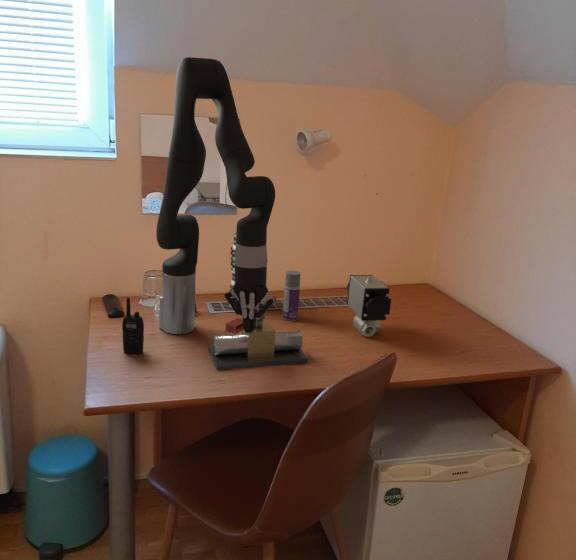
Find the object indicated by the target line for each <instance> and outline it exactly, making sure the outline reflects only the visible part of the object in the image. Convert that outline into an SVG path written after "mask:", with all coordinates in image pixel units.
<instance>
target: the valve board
mask: <svg viewBox="0 0 576 560" xmlns="http://www.w3.org/2000/svg"><path fill="white" fill-rule="evenodd" d="M212 337H213V338H212V344H208V346H207V347H208V348H207V351H208V353H209V356H210V358H211V360H212V362H213V365H214V367H215V370H216V371H219V370H220V371H221V370H222V371H223V370H233V369H235V370H236V369H246V368H247V369H248V368H259V367H260V368H261V367H263V368H264V367H272V366H273V367H274V366H275V367H276V366H290V365H301V364H303V365H304V364H308V361H309V358H308V356H307V355H306V354H305V353H304V351H303V350H302V348H303V336H302V332H301V331H300V330H294V331H293V330H291V331H289V330H288V331H276V329H274V327H273V326H272V325H271V323H270V321H267V320H266V321H264V319H263V320H257V321H256V329H255V330H254V331H253V332H252V333H245V330H243V331H241V333H237V334H218V335H213V336H212Z"/></svg>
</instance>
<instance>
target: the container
mask: <svg viewBox="0 0 576 560" xmlns="http://www.w3.org/2000/svg"><path fill="white" fill-rule="evenodd" d="M284 279H285V281H284V291H283V306H282V320H285V321H287V322H296V321H297V320H298V316H299V305H300V303H299V302H300V292H301V291H300V290H301V272H300V271H297V270H287V271H285V278H284Z"/></svg>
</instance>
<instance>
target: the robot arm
mask: <svg viewBox="0 0 576 560" xmlns="http://www.w3.org/2000/svg"><path fill="white" fill-rule="evenodd" d="M177 66H178V67H177V70H176V77H175V88H174V89H175V91H174V92H175V93H174V108H173V109H174V114H173V124H172V132H171V139H170V145H169V151H168V158H167V159H168V160H167V167H166V176H165V183H164V190H163V191H164V192H163V197H162V201H161V205H160V210H159V214H158V217H157V218H158V219H157V222H156V223H157V224H156V230H155V231H156V241H157V245H158V246H159V247H160V248H161V249H163V250H167V251H169V250H179V251H177V252H176V253H175V254H174V255H173V256H170V257H169V258H167V259H165V260H164V261H163V263H162V271H161V272H162V280H161V281H162V282H161V283H162V285H161V286H162V289H161V290H162V293H161V296H160V297H159V298H158V300H159V302H158V305H159V306H158V307H159V311H158V312H159V313H158V315H159V316H158V320H159V322H158V323H159V324H158V325H159V327H158V328H159V329H160V330H162V331H163V332H165V333H166V334H171V335H186V334H189V333H191V332H193V331H194V330H195V325H196V324H195V323H196V322H195V320H196V318H195V317H196V280H197V278H196V274H197V265H198V254H199V244H200V243H199V242H200V226H199V223H198V219H197V218H196V217H195V216H194V215H193V214H179V212H180V209H181V207H182V205H183V204H184V201H185V200H186V199H187V197H188V196H189V195H190V194H191V193H192V192H193V191H194V189H195V188H196V187H197V185H198V184H199V183H200V181H201V179H202V178H203V174H204V170H205V169H204V168H205V164H206V163H205V162H206V157H207V151H206V145H205V142H204V139H203V138H202V135H201V133H200V131H199V129H198V126H197V123H196V119H195V109H196V103H197V100H201V99H202V100H212V102H213V103H214V104H215V107H216V109H217V114H218V115H217V117H218V118H217V122H216V127H215V132H214V133H215V135H214V138H215V139H214V141H215V146H216V149H217V151H218V154H219V156H220V158H221V162H222V163H223V166H224V167H225V175H226V182H227V191H228V196H229V199H230V201H231V203H232V204H233V205H234V206H235V207H237V208H239V209H242V210H245V209H250V211H249V213H248V214H247V215H246V216H244V217H242V218H240V219H239V220H237V222H236V231H235V233H236V250H235V284H234V286H233V290H231V291H230V290H229V291H227V292H225V293H224V294H223V295H224V298H225V299H226V301H227V303H228V304H229V306H230V305H231V307H232V308H231V307H230V308H231V309H233V311H234V313H235V314H236V315H240V316H241V318H243V329H244V330H245V333H252V332H253V331H254V330H255V329H256V318H260V317H261V316H262V315H263V314H264V313H265V314H266V312H267V311H268V310H269V309H270V308H271V307H272V306H273V305H274V304H275V302H276V301H277V298H276V296H272V295H271V294H270V293H269V289H268V286H267V279H268V275H267V274H268V273H267V272H268V268H267V267H268V259H269V258H268V249H267V246H268V245H267V243H268V242H267V238H268V236H267V234H268V226H269V225H268V224H269V222H270V219H271V216H272V212H273V208H274V205H275V201H276V189H275V185H274V183H273V181H272V180H271V179H270V178H269V177H268V176H264V175H257V176H247V174H246V173H247V172H249V171H250V170H252V169H253V167H254V165H255V164H256V163H255V157H254V154H253V151H252V149H251V147H250V145H249V142H248V140H247V139H246V138H247V137H246V136H245V132H243V131H244V130H243V128H242V126H241V123H240V119H239V116H238V111H237V105H236V103H235V99H234V94H233V91H232V87H231V84H230V83H231V82H230V80H229V77H228V73H227V69H226V68H225V66H224V65H223V64H222V62H221V61H220V60H217V59H215V58H205V57H204V58H203V57H191V56H190V57H189V56H187V57H184V58H182V59H181V60H180V62H179V64H178V65H177ZM236 297H238V299H239V300H240V302H241V304H240V302H239V301H238V299H237V298H236ZM262 301H263V302H264V305H262V307H261V308H259V306H260V303H261V302H262ZM258 309H260V310H259V311H258Z"/></svg>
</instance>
